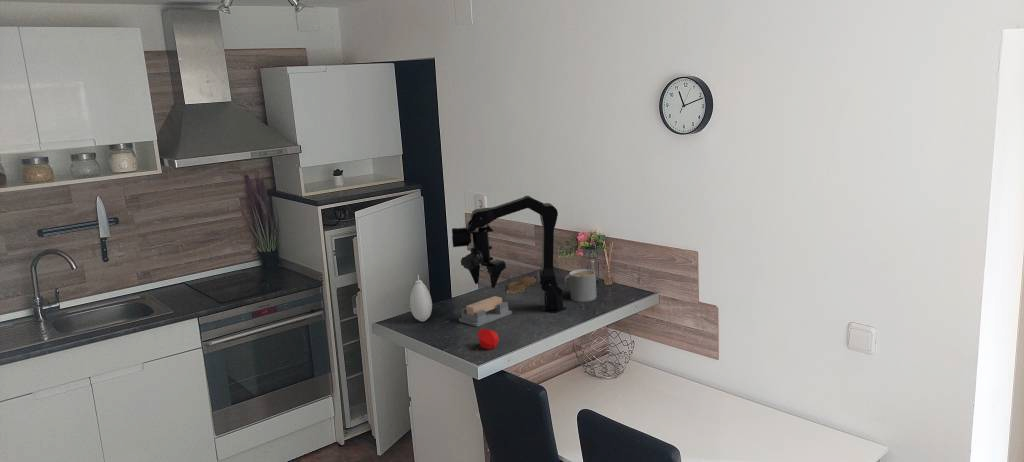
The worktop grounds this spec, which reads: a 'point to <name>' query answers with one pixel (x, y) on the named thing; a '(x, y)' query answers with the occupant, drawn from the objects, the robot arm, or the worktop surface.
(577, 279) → the coffee mug
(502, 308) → the grey cradle stand
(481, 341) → the apple
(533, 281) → the wooden fragment
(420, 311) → the white air blower bulb
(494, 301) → the clay bar
